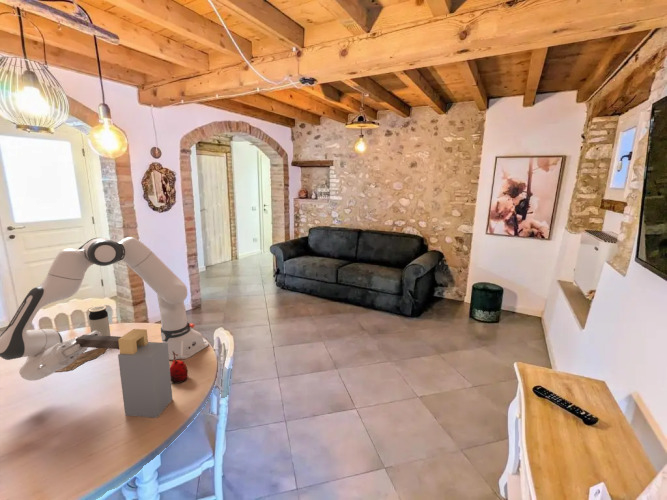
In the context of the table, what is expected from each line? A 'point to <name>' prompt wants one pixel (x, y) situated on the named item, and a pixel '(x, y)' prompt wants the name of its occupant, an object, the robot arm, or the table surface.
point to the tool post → (144, 374)
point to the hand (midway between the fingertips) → (89, 340)
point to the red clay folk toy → (178, 370)
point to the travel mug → (99, 320)
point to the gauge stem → (98, 341)
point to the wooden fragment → (83, 359)
